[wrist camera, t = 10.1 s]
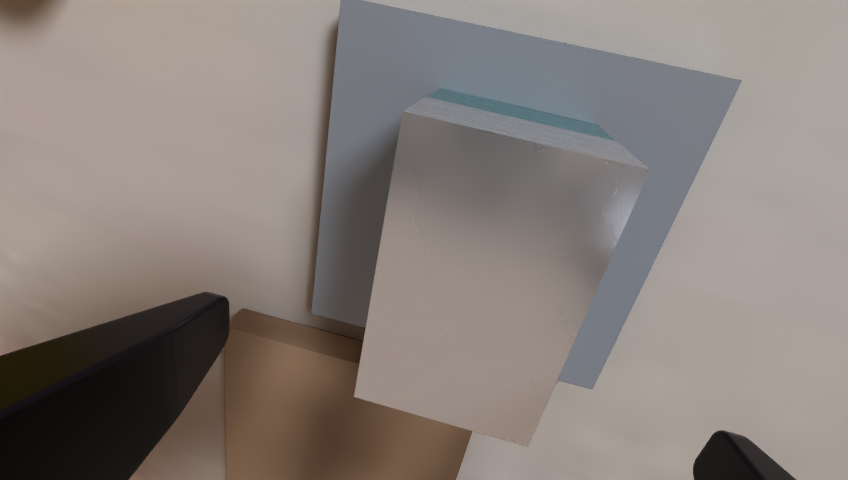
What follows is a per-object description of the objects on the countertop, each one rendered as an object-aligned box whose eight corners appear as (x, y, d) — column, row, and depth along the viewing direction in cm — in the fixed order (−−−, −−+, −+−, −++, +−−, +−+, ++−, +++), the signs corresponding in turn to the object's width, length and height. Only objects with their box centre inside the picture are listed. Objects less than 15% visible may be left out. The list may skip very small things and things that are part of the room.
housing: (521, 327, 17) (527, 447, 12) (398, 294, 17) (353, 397, 12) (596, 123, 13) (649, 169, 8) (440, 87, 14) (402, 111, 9)
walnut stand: (484, 374, 20) (483, 398, 19) (433, 529, 25) (429, 556, 24) (242, 308, 21) (224, 326, 20) (240, 470, 26) (226, 494, 25)
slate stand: (718, 77, 14) (742, 80, 12) (586, 365, 19) (592, 389, 18) (356, 0, 15) (341, -4, 13) (324, 295, 20) (311, 313, 18)
